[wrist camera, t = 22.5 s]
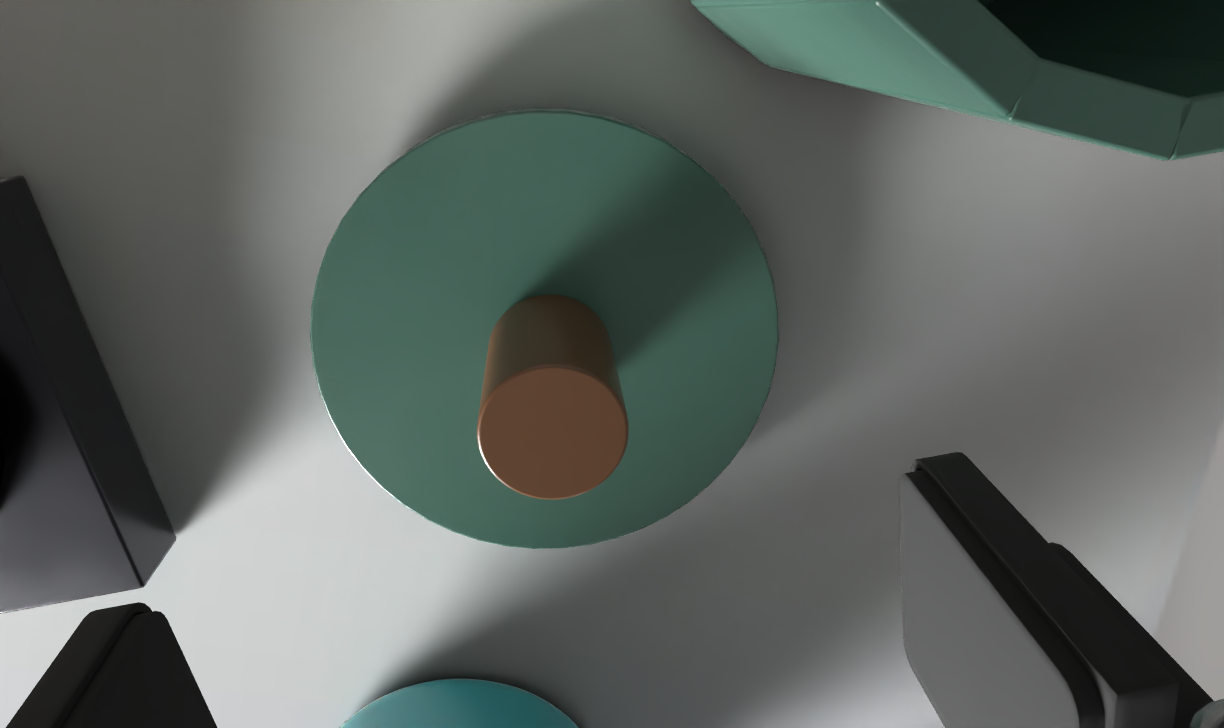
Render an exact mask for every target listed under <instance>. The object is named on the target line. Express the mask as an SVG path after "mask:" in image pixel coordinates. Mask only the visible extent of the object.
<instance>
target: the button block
mask: <svg viewBox="0 0 1224 728" xmlns="http://www.w3.org/2000/svg"><path fill="white" fill-rule="evenodd" d="M175 541H176V536H175V534H174V531H173V529H172V527H171V524H170V522H169V520H168V517H167V515H166V512H165V510H164V508H163V505H162V503H161V501H160V498H159V496H158V493H157V491H156V489H155V486H154V484H153V482H152V479H151V477H150V474H149V472H148V470H147V467H146V465H145V463H144V460H143V458H142V455H141V453H140V451H139V448H138V446H137V444H136V441H135V439H134V437H133V434H132V432H131V429H130V427H129V425H128V422H127V420H126V418H125V415H124V413H123V410H122V408H121V406H120V403H119V401H118V399H117V396H116V394H115V391H114V389H113V387H112V384H111V382H110V380H109V377H108V375H107V372H106V370H105V368H104V365H103V363H102V361H101V358H100V356H99V354H98V351H97V349H96V346H95V344H94V342H93V339H92V337H91V335H90V332H89V330H88V327H87V325H86V323H85V320H84V318H83V316H82V313H81V311H80V308H79V306H78V304H77V301H76V299H75V297H74V294H73V292H72V289H71V287H70V285H69V282H68V280H67V278H66V275H65V273H64V270H63V268H62V266H61V263H60V261H59V259H58V256H57V254H56V252H55V249H54V247H53V244H52V242H51V240H50V237H49V235H48V233H47V230H46V228H45V225H44V223H43V221H42V218H41V216H40V214H39V211H38V209H37V206H36V204H35V202H34V199H33V197H32V195H31V192H30V190H29V187H28V185H27V183H26V180H25V178H24V177H23V176H14V177H9V178H3V179H0V614H1V613H7V612H12V611H18V610H23V609H29V608H34V607H40V606H45V605H50V604H56V603H61V602H67V601H72V600H78V599H83V598H89V597H94V596H100V595H105V594H111V593H116V592H121V591H127V590H132V589H138V588H142V587H144V586H145V585H146V583H147V582H148V580H149V579H150V577H151V576H152V575H153V573H154V572H155V570H156V569H157V567H158V566H159V564H160V563H161V561H162V560H163V558H164V557H165V555H166V554H167V553H168V551H169V550H170V548H171V547H172V545H173V544H174V542H175Z"/></svg>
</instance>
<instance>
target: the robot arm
mask: <svg viewBox="0 0 1224 728" xmlns="http://www.w3.org/2000/svg"><path fill="white" fill-rule="evenodd" d="M899 503H900V539H901V575H902V610H903V639H904V646H905V651H906V655H907V658H908V661H909V663H910V666H911V668H912V670H913V672H914V673H915V675H916V677H917V679H918V681H919V682H920V684H921V686H922V688H923V689H924V691H925V693H926V695H927V697H928V698H929V700H930V702H931V704H932V705H933V707H934V709H935V711H936V713H937V714H938V716H939V718H940V720H941V721H942V723H943V725H944V727H945V728H1224V699H1221V700H1218V701H1213V700H1212V699H1211V698H1210V696H1209V695H1208V694H1207V693H1206V692H1205V691H1204V690H1203V689H1202V688H1201V687H1200V686H1199V685H1198V684H1197V683H1196V682H1195V681H1194V680H1193V679H1192V678H1191V677H1190V676H1189V675H1188V674H1187V673H1186V672H1185V671H1184V669H1182V667H1181V666H1180V665H1179V664H1178V663H1177V662H1176V661H1175V660H1174V659H1173V658H1172V657H1171V656H1170V655H1169V654H1168V653H1167V652H1166V651H1165V650H1164V649H1163V648H1162V647H1161V646H1160V645H1159V644H1158V642H1157V641H1156V640H1155V639H1154V638H1153V637H1152V636H1151V635H1150V634H1149V633H1148V632H1147V631H1146V630H1145V629H1144V628H1143V627H1142V626H1141V625H1140V624H1139V623H1138V622H1137V621H1136V620H1135V619H1134V618H1133V617H1132V615H1131V614H1130V613H1129V612H1128V611H1127V610H1126V609H1125V608H1124V607H1123V606H1122V605H1121V604H1120V603H1119V602H1118V601H1117V600H1116V599H1115V598H1114V597H1113V596H1112V595H1111V594H1110V593H1109V592H1108V591H1107V590H1106V589H1105V587H1104V586H1103V585H1102V584H1101V583H1100V582H1099V581H1098V580H1097V579H1096V578H1095V577H1094V576H1093V575H1092V574H1091V573H1090V572H1089V571H1088V570H1087V569H1086V568H1085V567H1084V566H1083V565H1082V564H1081V563H1080V562H1079V560H1078V559H1077V558H1076V557H1075V556H1074V555H1073V554H1072V553H1071V552H1070V551H1068V550H1067V549H1066V548H1065V547H1063V546H1062V545H1060V544H1057V543H1053V542H1052V543H1048V542H1047V541H1046V540H1045V539H1044V538H1043V537H1042V536H1041V535H1040V534H1039V533H1038V532H1037V531H1036V530H1035V529H1034V527H1033V526H1032V525H1031V524H1030V523H1029V522H1028V521H1027V520H1026V519H1025V518H1024V517H1023V516H1022V515H1021V514H1020V513H1019V512H1018V510H1017V509H1016V508H1015V507H1014V506H1013V505H1012V504H1011V503H1010V502H1009V501H1008V500H1007V499H1006V498H1005V497H1004V496H1003V494H1002V493H1001V492H1000V491H999V490H998V489H997V488H996V487H995V486H994V485H993V484H992V483H991V482H990V481H989V480H988V478H987V477H986V476H985V475H984V474H983V473H982V472H981V471H980V470H979V469H978V468H977V467H976V466H975V465H974V464H973V463H972V461H971V460H970V459H969V458H968V457H967V456H966V455H964V454H963V453H962V452H954V453H949V454H943V455H938V456H933V457H927V458H922V459H916V460H915V461H914V462H913V465H912V468H911V472H909V473H904V474H902V475H901V476H900V479H899ZM6 728H217V726H216V724H215V722H214V719H213V717H212V715H211V713H210V711H209V709H208V706H207V704H206V702H205V700H204V698H203V696H202V694H201V691H200V689H199V687H198V685H197V683H196V681H195V678H194V676H193V674H192V672H191V670H190V668H189V666H188V663H187V661H186V659H185V657H184V655H183V653H182V650H181V648H180V646H179V644H178V642H177V640H176V637H175V635H174V633H173V631H172V629H171V627H170V625H169V622H168V620H167V619H166V617H165V615H164V614H162V613H161V612H158V611H154V612H152V610H151V609H150V608H149V607H148V606H147V605H146V604H144V603H139V602H138V603H133V604H127V605H122V606H116V607H111V608H106V609H100V610H95V611H93V612H90V613H89V614H88V615H87V616H86V617H85V618H84V619H83V620H82V622H81V623H80V625H79V626H78V627H77V629H76V630H75V632H74V633H73V634H72V636H71V637H70V639H69V640H68V641H67V643H66V644H65V646H64V647H63V648H62V650H61V651H60V653H59V654H58V655H57V657H56V658H55V660H54V661H53V662H52V664H51V665H50V667H49V668H48V669H47V671H46V672H45V674H44V675H43V676H42V678H41V679H40V681H39V682H38V683H37V685H36V686H35V688H34V689H33V690H32V692H31V693H30V695H29V696H28V697H27V699H26V700H25V702H24V703H23V704H22V706H21V707H20V709H19V710H18V711H17V713H16V714H15V716H14V717H13V718H12V720H11V721H10V723H9V724H8V725H7V727H6Z"/></svg>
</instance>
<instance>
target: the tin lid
mask: <svg viewBox="0 0 1224 728" xmlns="http://www.w3.org/2000/svg"><path fill="white" fill-rule="evenodd" d="M310 339H311V349H312V359H313V366H314V371H315V375H316V379H317V383H318V387H319V391H320V394H321V397H322V399H323V402H324V404H325V407H326V409H327V412H328V414H329V417H330V419H331V421H332V423H333V425H334V426H335V428H336V430H337V432H338V433H339V435H340V437H341V439H342V440H343V442H344V444H345V446H346V447H347V448H348V450H349V451H350V452H351V454H352V455H353V456H354V457H355V459H356V460H357V461H358V463H359V464H360V465H361V467H362V468H363V469H364V470H365V471H366V472H367V473H368V474H369V475H370V476H371V477H372V478H373V479H374V480H375V481H376V482H377V483H378V484H379V485H380V486H381V487H382V488H383V489H384V490H385V491H387V492H388V493H389V494H390V495H392V496H393V497H394V498H395V499H397V500H398V501H399V502H400V503H402V504H403V505H404V506H406V507H408V508H409V509H411V510H412V511H414V512H416V513H417V514H419V515H421V516H422V517H424V518H425V519H427V520H429V521H431V522H433V523H435V524H438V525H440V526H442V527H444V528H446V529H448V530H451V531H453V532H456V533H459V534H462V535H465V536H468V537H471V538H474V539H477V540H480V541H485V542H490V543H494V544H499V545H504V546H511V547H522V548H533V549H545V548H568V547H575V546H583V545H590V544H594V543H599V542H603V541H607V540H611V539H615V538H618V537H621V536H624V535H626V534H629V533H632V532H635V531H637V530H640V529H643V528H645V527H647V526H649V525H651V524H653V523H655V522H657V521H659V520H661V519H663V518H665V517H667V516H668V515H670V514H671V513H673V512H674V511H676V510H677V509H679V508H680V507H682V506H683V505H685V504H687V503H688V502H690V501H691V500H692V499H693V498H694V497H696V496H697V495H698V494H699V493H700V492H702V491H703V490H704V489H705V488H706V487H708V486H709V485H710V484H711V483H712V482H713V481H714V480H715V479H716V478H717V477H718V476H719V474H720V473H721V472H722V471H723V470H724V469H725V468H726V467H727V466H728V465H729V464H730V462H731V461H732V460H733V458H734V457H735V456H736V454H737V453H738V452H739V450H740V449H741V447H742V446H743V445H744V443H745V442H746V440H747V438H748V436H749V435H750V433H751V431H752V429H753V427H754V426H755V424H756V422H757V420H758V419H759V416H760V414H761V411H762V409H763V406H764V403H765V401H766V398H767V396H768V393H769V390H770V386H771V382H772V378H773V374H774V370H775V366H776V358H777V349H778V341H779V325H778V306H777V300H776V294H775V288H774V282H773V278H772V275H771V272H770V269H769V265H768V262H767V259H766V256H765V253H764V251H763V249H762V247H761V245H760V242H759V240H758V238H757V236H756V234H755V232H754V230H753V228H752V226H751V224H750V223H749V221H748V220H747V218H746V217H745V215H744V214H743V212H742V211H741V209H740V208H739V206H738V205H737V203H736V202H735V200H734V199H733V198H732V197H731V196H730V195H729V194H728V193H727V191H726V190H725V189H724V188H723V187H722V186H721V185H720V183H719V182H718V181H717V180H716V179H715V178H714V177H713V176H712V175H711V174H710V173H708V172H707V171H706V170H705V169H704V168H703V167H701V166H700V165H699V164H698V163H697V162H696V161H694V160H693V159H692V158H691V157H690V156H689V155H687V154H686V153H684V152H683V151H681V150H680V149H678V148H677V147H675V146H673V145H672V144H670V143H669V142H667V141H666V140H664V139H663V138H661V137H659V136H657V135H655V134H652V133H650V132H648V131H646V130H644V129H642V128H639V127H637V126H635V125H633V124H630V123H627V122H624V121H621V120H617V119H614V118H611V117H608V116H604V115H601V114H595V113H589V112H583V111H577V110H571V109H549V108H532V109H522V110H513V111H504V112H499V113H495V114H491V115H487V116H483V117H479V118H475V119H471V120H468V121H465V122H463V123H460V124H458V125H455V126H453V127H450V128H448V129H445V130H443V131H440V132H438V133H437V134H435V135H433V136H431V137H430V138H428V139H426V140H424V141H423V142H421V143H419V144H417V145H416V146H414V147H412V148H411V149H409V150H408V151H407V152H406V153H404V154H403V155H402V156H400V157H399V158H398V159H397V160H395V161H394V162H393V163H391V164H390V165H389V166H387V167H386V168H385V169H384V170H383V171H382V172H381V173H380V174H379V175H378V176H377V177H376V178H375V180H374V181H373V182H372V183H371V184H370V185H369V186H368V187H367V188H366V189H365V190H364V191H363V192H362V193H361V194H360V195H359V197H358V198H357V199H356V201H355V202H354V204H353V205H352V206H351V208H350V209H349V210H348V212H347V213H346V215H345V216H344V217H343V219H342V220H341V222H340V224H339V226H338V228H337V230H336V232H335V234H334V236H333V237H332V239H331V241H330V243H329V245H328V247H327V250H326V252H325V255H324V258H323V261H322V264H321V267H320V270H319V273H318V275H317V280H316V285H315V290H314V295H313V301H312V306H311V328H310Z"/></svg>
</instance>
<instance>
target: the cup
mask: <svg viewBox="0 0 1224 728" xmlns="http://www.w3.org/2000/svg"><path fill="white" fill-rule="evenodd" d="M339 728H579V727H578V726H577V725H576V724H575V723H574V722H573V721H572V720H571V719H570V718H569V717H568V716H567V715H566V714H565V713H564V712H562V711H561V710H560V709H558V708H557V707H556V706H554V705H553V704H551V703H550V702H548V701H546V700H545V699H543V698H541V697H539V696H537V695H535V694H533V693H530V692H528V691H526V690H523V689H520V688H517V687H515V686H511V685H507V684H504V683H499V682H494V681H489V680H480V679H465V678H461V679H442V680H434V681H428V682H423V683H418V684H414V685H411V686H407V687H404V688H401V689H398V690H396V691H393V692H391V693H388V694H386V695H384V696H382V697H380V698H378V699H376V700H374V701H373V702H371V703H369V704H367V705H366V706H364V707H363V708H362V709H360V710H359V711H357V712H356V713H355V714H354V715H352V716H351V717H350V718H349V719H348V720H346V721H345V722H344V723H343V724H342V725H341V726H340V727H339Z"/></svg>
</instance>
